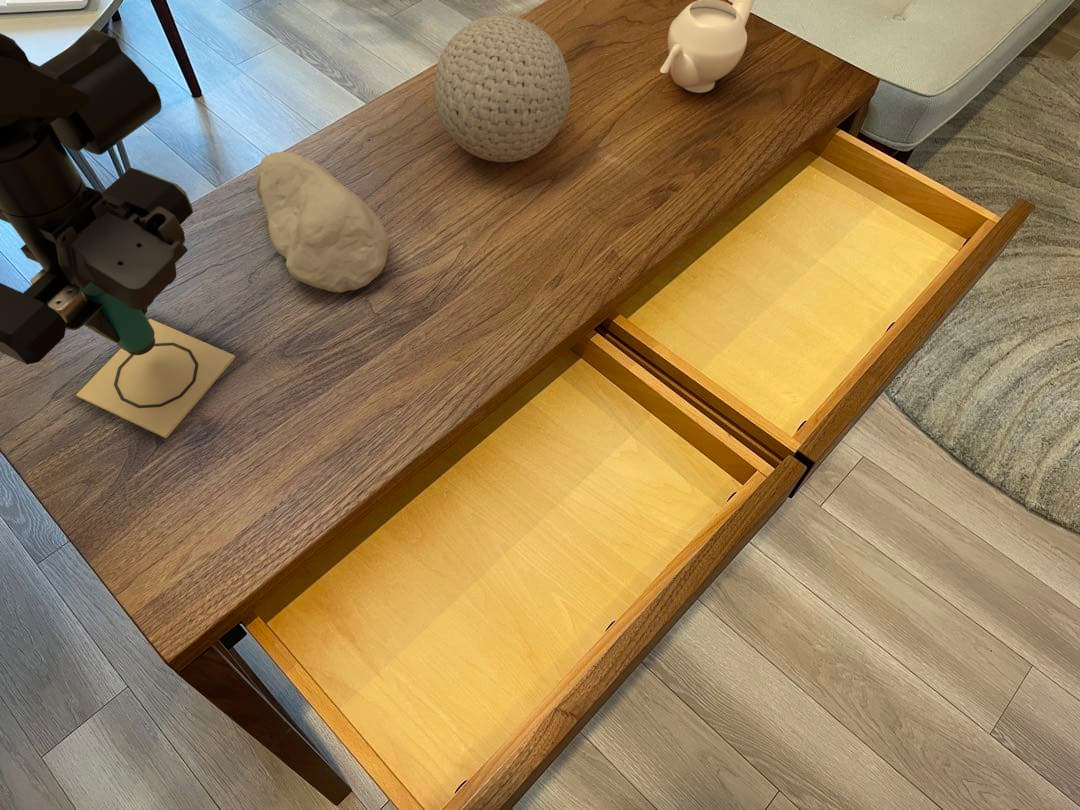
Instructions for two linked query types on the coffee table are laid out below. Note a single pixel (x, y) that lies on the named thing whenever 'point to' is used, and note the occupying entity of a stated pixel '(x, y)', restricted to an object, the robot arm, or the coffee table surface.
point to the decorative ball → (502, 88)
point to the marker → (124, 321)
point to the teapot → (706, 42)
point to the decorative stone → (320, 224)
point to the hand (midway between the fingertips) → (128, 326)
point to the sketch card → (157, 380)
